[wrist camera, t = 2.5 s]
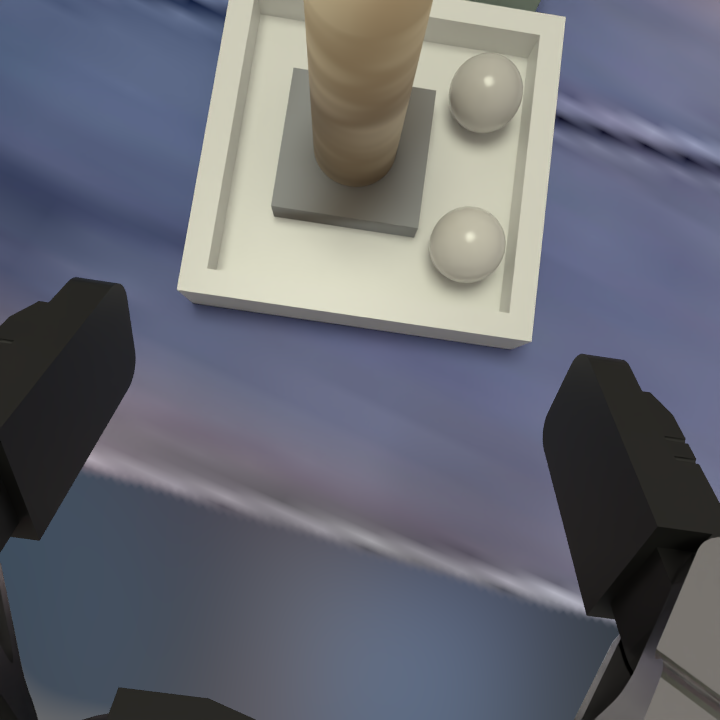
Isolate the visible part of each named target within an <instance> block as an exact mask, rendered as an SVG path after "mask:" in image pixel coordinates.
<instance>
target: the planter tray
mask: <svg viewBox="0 0 720 720" xmlns="http://www.w3.org/2000/svg"><path fill="white" fill-rule="evenodd" d="M466 1H472V2H478V3H484V4H490V5H496V6H502V7H508V8H514V9H520V10H526V11H532V12H535V11H536V9H537V7H538V5H539V3H540V1H541V0H466Z"/></svg>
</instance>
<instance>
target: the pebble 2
mask: <svg viewBox="0 0 720 720" xmlns="http://www.w3.org/2000/svg"><path fill="white" fill-rule="evenodd" d="M429 248H430V255H431V259H432V261H433V263H434V265H435V267H436V268H437V269H438V270H439V272H440V273H442V274H443V275H444V276H445V277H447V278H449V279H451V280H453V281H456V282H460V283H471V282H476V281H479V280H482V279H484V278H486V277H487V276H489V275H490V274H491V273H493V272H494V271H495V270H496V268H497V267H498V266H499V264H500V263H501V261H502V259H503V256H504V253H505V248H506V240H505V234H504V230H503V228H502V226H501V224H500V223H499V221H498V220H497V219H496V218H495V217H494V216H493V215H492V214H491V213H489V212H488V211H486V210H484V209H481V208H478V207H473V206H465V207H459V208H456V209H454V210H451V211H450V212H448V213H447V214H445V215H444V216H443V217H442V218H441V219H440V220H439V221H438V222H437V224H436V225H435V227H434V229H433V231H432V234H431V237H430V243H429Z"/></svg>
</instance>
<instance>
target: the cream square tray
mask: <svg viewBox="0 0 720 720" xmlns="http://www.w3.org/2000/svg"><path fill="white" fill-rule="evenodd" d="M565 18H566V17H562V16H556V15H550V14H544V13H538V12H532V11H526V10H520V9H514V8H508V7H502V6H496V5H490V4H484V3H478V2H472V1H466V0H433V3H432V7H431V11H430V15H429V20H428V24H427V28H426V32H425V36H424V40H423V45H422V49H421V53H420V57H419V61H418V65H417V70H416V74H415V78H414V82H413V86H412V87H418V88H424V89H430V90H436V97H435V105H434V112H433V120H432V127H431V135H430V142H429V150H428V158H427V165H426V173H425V180H424V188H423V196H422V203H421V211H420V218H419V226H418V230H417V232H416V234H415V237H414V238H412V237H406V236H399V235H393V234H386V233H379V232H373V231H366V230H360V229H353V228H346V227H340V226H333V225H327V224H320V223H313V222H307V221H300V220H294V219H287V218H280V217H274V215H273V211H272V208H271V203H272V197H273V190H274V184H275V178H276V172H277V166H278V160H279V154H280V148H281V141H282V135H283V129H284V123H285V117H286V111H287V105H288V99H289V92H290V86H291V80H292V74H293V68H299V69H306V70H308V58H307V43H306V28H305V14H304V0H229V3H228V8H227V14H226V19H225V25H224V30H223V36H222V42H221V47H220V53H219V58H218V64H217V69H216V75H215V80H214V86H213V92H212V97H211V103H210V108H209V114H208V119H207V125H206V131H205V136H204V142H203V147H202V153H201V158H200V164H199V169H198V175H197V181H196V186H195V192H194V197H193V203H192V208H191V214H190V220H189V225H188V231H187V236H186V242H185V247H184V253H183V258H182V264H181V270H180V275H179V281H178V286H177V290H178V291H179V292H180V293H181V294H183V295H184V296H185V297H186V298H187V299H189V300H190V301H191V302H192V303H196V304H203V305H209V306H216V307H223V308H230V309H237V310H244V311H251V312H257V313H264V314H271V315H278V316H285V317H292V318H299V319H305V320H312V321H319V322H326V323H333V324H340V325H347V326H353V327H360V328H367V329H374V330H381V331H388V332H395V333H401V334H408V335H415V336H422V337H429V338H436V339H443V340H449V341H456V342H463V343H470V344H477V345H484V346H491V347H498V348H504V349H514V348H516V347H519V346H522V345H524V344H527V343H529V342H531V341H532V331H533V322H534V312H535V303H536V293H537V284H538V274H539V265H540V255H541V246H542V236H543V227H544V217H545V208H546V198H547V189H548V179H549V170H550V160H551V151H552V141H553V132H554V123H555V113H556V104H557V94H558V85H559V75H560V66H561V56H562V47H563V37H564V28H565ZM481 53H497V54H500V55H503V56H505V57H507V58H508V59H510V60H511V61H512V62H513V63H514V64H515V66H516V67H517V69H518V70H519V72H520V75H521V78H522V82H523V96H522V101H521V104H520V107H519V109H518V111H517V113H516V114H515V115H514V117H513V118H512V119H511V120H510V121H509V122H508V123H507V124H506V125H505V126H503V127H502V128H500V129H498V130H496V131H493V132H488V133H476V132H472V131H469V130H467V129H466V128H464V127H463V126H461V125H460V124H459V123H458V122H457V120H456V119H455V118H454V116H453V114H452V112H451V109H450V105H449V88H450V84H451V81H452V79H453V76H454V75H455V73H456V71H457V70H458V69H459V67H460V66H461V65H462V64H463V63H464V62H465V61H467V60H468V59H470V58H471V57H473V56H475V55H478V54H481ZM465 206H473V207H478V208H481V209H484V210H486V211H488V212H489V213H491V214H492V215H493V216H494V217H495V218H496V219H497V220H498V221H499V223H500V224H501V226H502V228H503V230H504V234H505V240H506V248H505V253H504V256H503V259H502V261H501V263H500V264H499V266H498V267H497V268H496V270H495V271H494V272H493V273H491V274H490V275H489V276H487V277H486V278H484V279H482V280H479V281H476V282H471V283H460V282H456V281H453V280H451V279H449V278H447V277H445V276H444V275H443V274H442V273H440V272H439V270H438V269H437V268H436V267H435V265H434V263H433V261H432V259H431V255H430V248H429V243H430V237H431V234H432V231H433V229H434V227H435V225H436V224H437V222H438V221H439V220H440V219H441V218H442V217H443V216H444V215H445V214H447V213H448V212H450V211H451V210H454V209H456V208H459V207H465Z"/></svg>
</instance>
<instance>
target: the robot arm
mask: <svg viewBox="0 0 720 720" xmlns="http://www.w3.org/2000/svg"><path fill="white" fill-rule="evenodd" d="M134 370H135V348H134V341H133V335H132V328H131V321H130V314H129V308H128V301H127V295H126V291H125V289H124V287H123V286H122V285H121V284H118V283H111V282H105V281H98V280H91V279H85V278H78V277H75V278H72V279H70V280H69V281H68V282H67V283H66V285H65V286H64V287H63V288H62V289H61V290H60V291H59V292H58V293H57V294H56V295H55V296H54V298H53V299H52V300H51V301H50V302H49V303H48V302H41V301H38V302H37V303H35V304H33V305H31V306H29V307H27V308H25V309H23V310H21V311H19V312H17V313H16V314H14V315H12V316H10V317H9V318H8V319H7V320H6V321H5V322H4V323H3V324H2V325H1V326H0V552H1V550H2V549H3V547H4V546H5V544H6V543H7V541H8V539H9V538H10V537H16V538H24V539H31V540H40V539H41V537H42V535H43V534H44V532H45V530H46V528H47V527H48V525H49V523H50V522H51V520H52V518H53V517H54V515H55V513H56V512H57V510H58V508H59V506H60V505H61V503H62V501H63V499H64V498H65V496H66V494H67V493H68V491H69V489H70V487H71V486H72V484H73V482H74V481H75V479H76V477H77V476H78V474H79V472H80V470H81V469H82V467H83V465H84V464H85V462H86V460H87V458H88V457H89V455H90V453H91V452H92V450H93V448H94V446H95V445H96V443H97V441H98V440H99V438H100V436H101V435H102V433H103V431H104V429H105V428H106V426H107V424H108V423H109V421H110V419H111V417H112V416H113V414H114V412H115V411H116V409H117V407H118V405H119V404H120V402H121V400H122V399H123V397H124V395H125V393H126V392H127V390H128V388H129V386H130V384H131V381H132V378H133V375H134ZM543 447H544V452H545V455H546V459H547V463H548V467H549V471H550V475H551V479H552V483H553V487H554V490H555V494H556V498H557V502H558V506H559V510H560V514H561V518H562V521H563V525H564V529H565V533H566V537H567V541H568V545H569V549H570V553H571V556H572V560H573V564H574V568H575V572H576V576H577V580H578V584H579V587H580V591H581V595H582V599H583V603H584V607H585V611H586V615H587V616H594V617H601V618H609V619H615V621H616V624H617V628H618V631H619V634H620V635H618V637H617V638H616V639H615V640H614V641H613V643H612V644H611V646H610V648H609V650H608V652H607V654H606V656H605V658H604V660H603V663H602V664H601V666H600V668H599V670H598V672H597V675H596V676H595V679H594V680H593V682H592V685H591V687H590V689H589V691H588V693H587V695H586V697H585V699H584V701H583V703H582V705H581V707H580V709H579V711H578V713H577V715H576V717H575V719H574V720H720V503H719V501H718V499H717V497H716V495H715V494H714V492H713V490H712V488H711V486H710V484H709V482H708V480H707V478H706V477H705V475H704V473H703V471H702V469H701V467H700V465H699V464H696V463H695V461H696V458H695V456H694V454H693V452H692V450H691V448H690V447H689V445H688V444H686V443H685V437H684V435H683V433H682V431H681V430H680V428H679V426H678V424H677V422H676V420H675V418H674V416H673V415H672V414H671V413H670V412H669V411H668V410H667V409H666V408H665V407H664V406H663V405H662V404H661V403H660V402H659V401H658V400H657V399H656V398H655V397H654V396H653V395H652V394H651V393H650V392H643V391H642V390H641V388H640V386H639V384H638V382H637V380H636V378H635V376H634V374H633V372H632V370H631V368H630V366H629V364H628V363H627V362H626V361H624V360H620V359H613V358H606V357H600V356H593V355H586V354H580V355H578V356H577V357H576V358H575V359H574V361H573V362H572V364H571V366H570V368H569V370H568V372H567V374H566V376H565V378H564V381H563V383H562V385H561V387H560V389H559V391H558V393H557V395H556V397H555V399H554V401H553V403H552V405H551V407H550V410H549V412H548V414H547V416H546V419H545V423H544V428H543ZM0 720H38V717H37V714H36V710H35V708H34V704H33V701H32V698H31V696H30V693H29V691H28V688H27V684H26V681H25V678H24V674H23V670H22V666H21V661H20V656H19V651H18V646H17V641H16V636H15V631H14V627H13V621H12V617H11V611H10V607H9V602H8V597H7V592H6V587H5V583H4V577H3V573H2V567H1V564H0ZM84 720H255V719H253V718H251V717H248V716H246V715H244V714H242V713H239V712H237V711H235V710H233V709H231V708H228V707H226V706H224V705H222V704H220V703H217V702H215V701H213V700H211V699H208V698H200V697H191V696H183V695H176V694H168V693H160V692H152V691H144V690H135V689H127V688H118V690H117V694H116V696H115V699H114V701H113V704H112V707H111V709H110V712H109V714H103V715H98V716H94V717H91V718H87V719H84Z"/></svg>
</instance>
